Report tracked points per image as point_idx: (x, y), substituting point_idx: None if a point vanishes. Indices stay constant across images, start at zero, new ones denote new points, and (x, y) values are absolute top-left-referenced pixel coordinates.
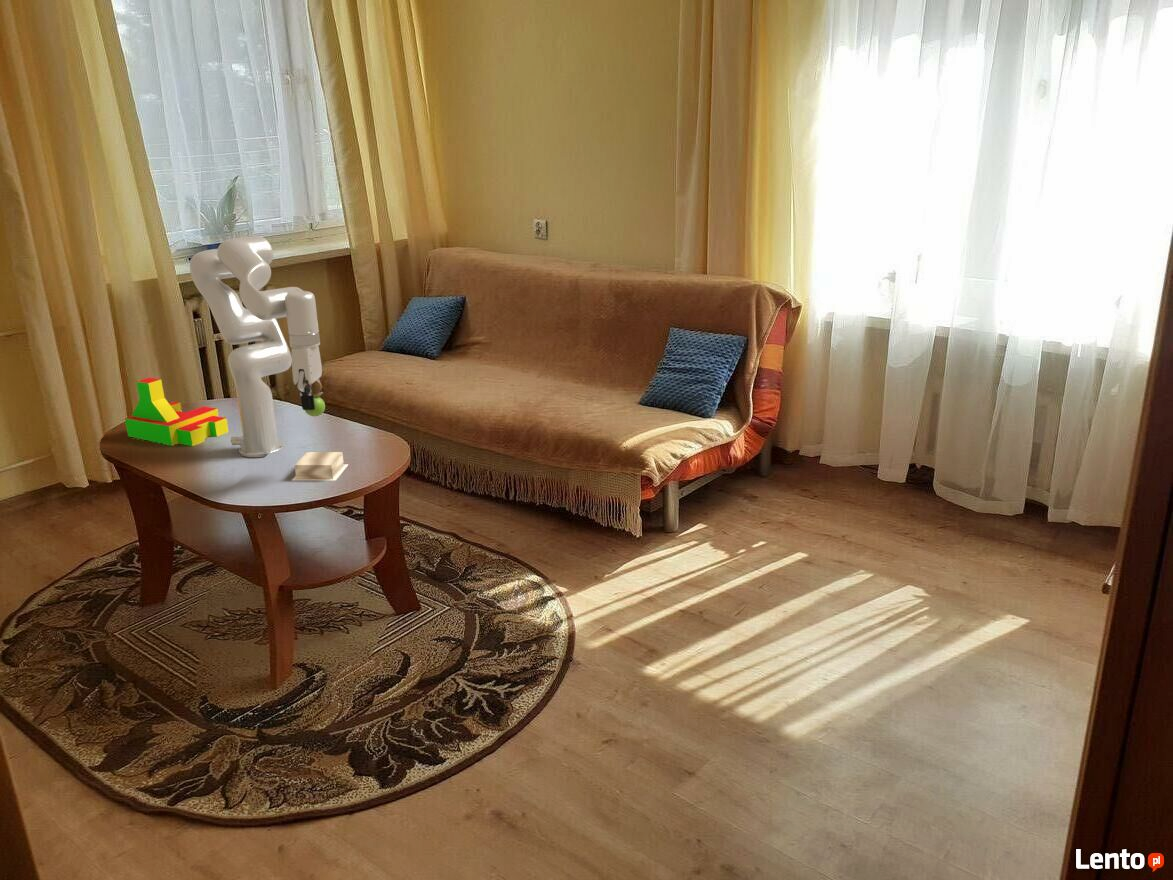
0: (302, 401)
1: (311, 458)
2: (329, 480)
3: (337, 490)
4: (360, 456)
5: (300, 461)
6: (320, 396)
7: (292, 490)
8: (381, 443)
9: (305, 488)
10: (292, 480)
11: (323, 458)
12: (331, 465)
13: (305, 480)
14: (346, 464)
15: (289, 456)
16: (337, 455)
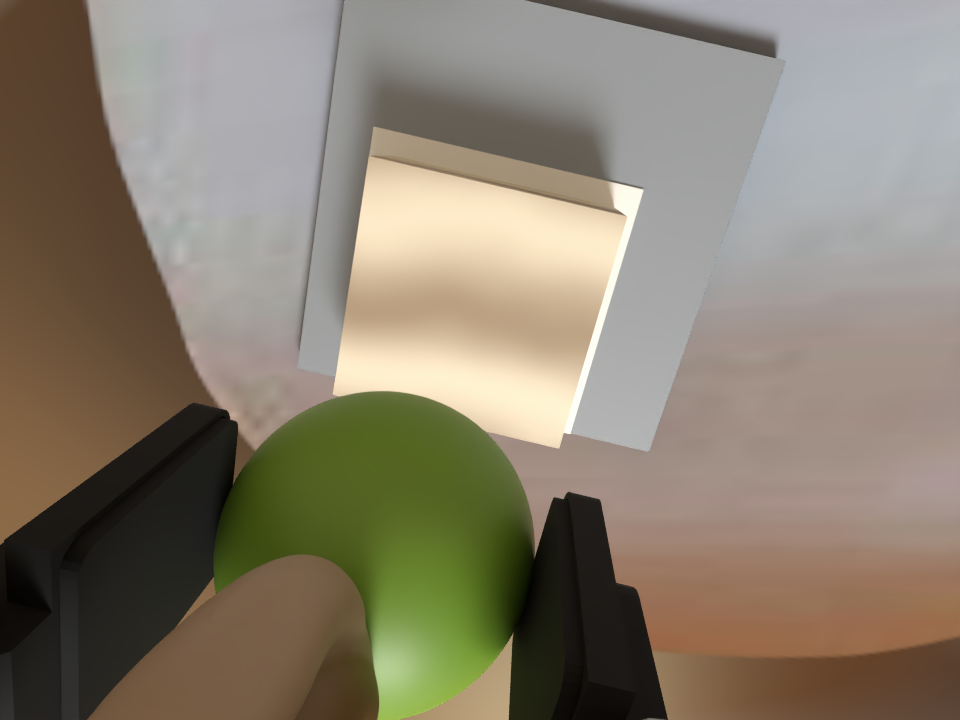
0: (110, 479)
1: (480, 262)
2: (339, 347)
3: (260, 381)
4: (741, 477)
5: (435, 190)
6: (511, 714)
7: (283, 143)
8: (924, 579)
9: (305, 216)
10: (372, 133)
11: (464, 340)
12: (335, 393)
13: (359, 214)
14: (571, 423)
15: (923, 35)
16: (501, 422)
